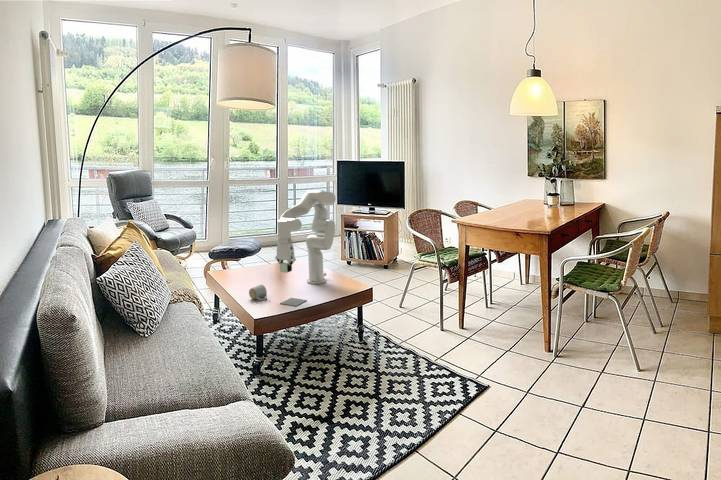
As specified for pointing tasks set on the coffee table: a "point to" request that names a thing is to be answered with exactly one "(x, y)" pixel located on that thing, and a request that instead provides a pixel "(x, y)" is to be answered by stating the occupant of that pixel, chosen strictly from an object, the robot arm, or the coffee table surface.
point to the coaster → (293, 302)
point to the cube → (284, 267)
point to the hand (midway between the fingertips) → (285, 270)
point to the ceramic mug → (258, 293)
